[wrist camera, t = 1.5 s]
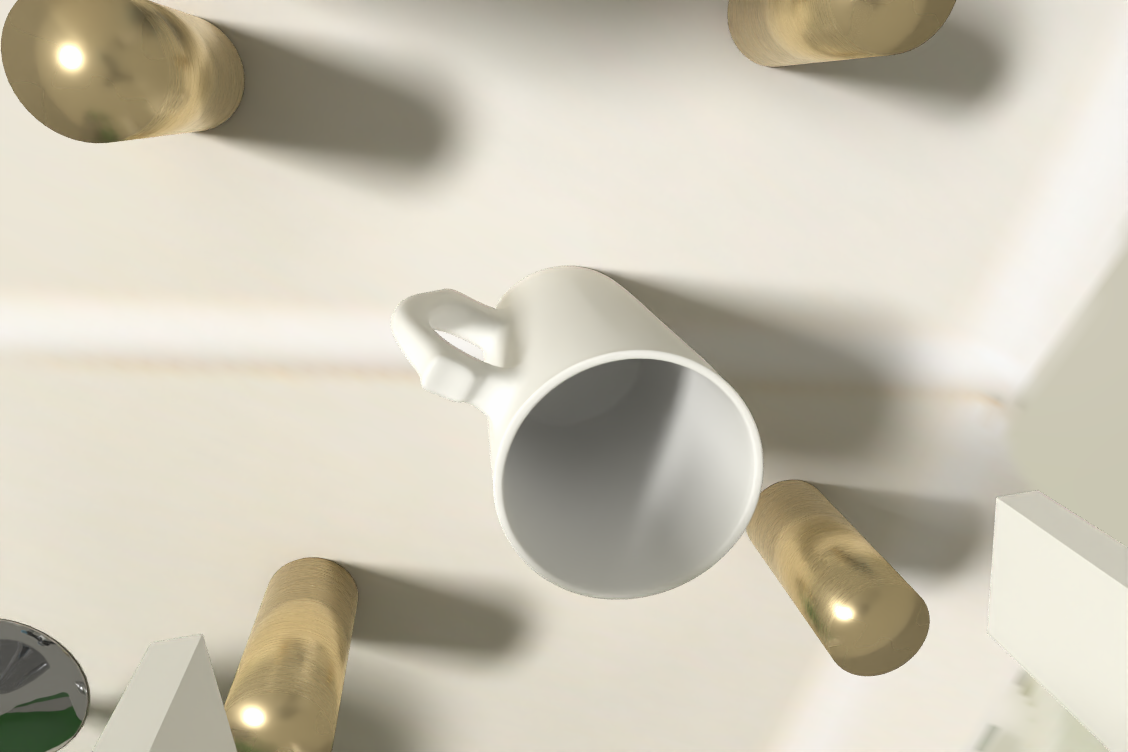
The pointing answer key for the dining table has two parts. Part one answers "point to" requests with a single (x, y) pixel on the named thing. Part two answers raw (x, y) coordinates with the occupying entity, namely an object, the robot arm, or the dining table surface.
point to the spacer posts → (321, 587)
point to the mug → (594, 430)
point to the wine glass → (38, 691)
